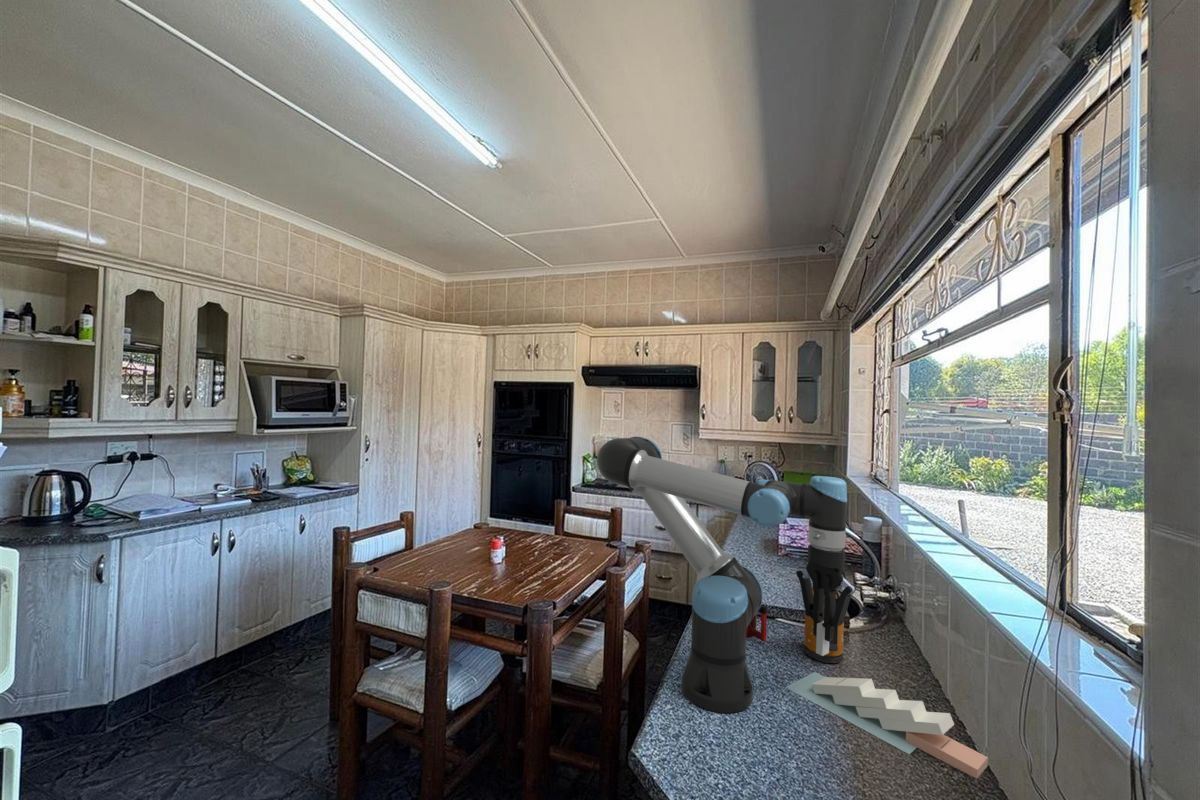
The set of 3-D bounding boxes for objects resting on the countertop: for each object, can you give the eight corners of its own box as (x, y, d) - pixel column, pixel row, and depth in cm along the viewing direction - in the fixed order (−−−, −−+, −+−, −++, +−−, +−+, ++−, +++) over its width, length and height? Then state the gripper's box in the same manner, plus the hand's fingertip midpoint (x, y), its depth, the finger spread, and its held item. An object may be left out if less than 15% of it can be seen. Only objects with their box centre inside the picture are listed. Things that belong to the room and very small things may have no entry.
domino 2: (832, 694, 102) (883, 698, 94) (845, 686, 105) (895, 689, 97) (835, 704, 101) (886, 708, 93) (848, 696, 104) (899, 699, 96)
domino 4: (878, 718, 94) (938, 723, 86) (891, 709, 97) (949, 713, 89) (882, 729, 94) (942, 735, 86) (895, 719, 97) (954, 724, 89)
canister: (834, 649, 126) (836, 573, 127) (852, 671, 115) (854, 588, 116) (799, 646, 127) (801, 570, 128) (813, 668, 116) (816, 585, 117)
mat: (785, 688, 107) (785, 687, 107) (814, 673, 114) (814, 671, 114) (909, 755, 87) (909, 754, 87) (935, 732, 94) (935, 730, 94)
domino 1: (811, 684, 106) (858, 686, 97) (824, 677, 109) (871, 678, 101) (814, 693, 105) (862, 696, 97) (827, 686, 108) (875, 688, 100)
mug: (764, 646, 126) (766, 601, 127) (715, 631, 135) (716, 588, 135) (776, 634, 134) (777, 591, 134) (728, 619, 142) (729, 579, 143)
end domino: (906, 731, 90) (977, 769, 81) (918, 721, 93) (988, 757, 85) (905, 741, 90) (976, 780, 81) (917, 730, 93) (987, 767, 85)
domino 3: (855, 706, 98) (910, 710, 90) (868, 698, 101) (922, 700, 93) (859, 717, 97) (914, 721, 89) (871, 708, 100) (926, 711, 92)
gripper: (790, 541, 110) (786, 644, 110) (846, 556, 100) (842, 671, 99) (808, 537, 115) (804, 636, 114) (864, 552, 104) (860, 661, 103)
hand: (822, 652), depth 107 cm, fingers closed
